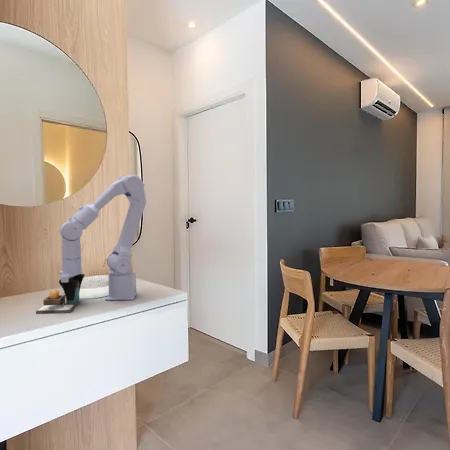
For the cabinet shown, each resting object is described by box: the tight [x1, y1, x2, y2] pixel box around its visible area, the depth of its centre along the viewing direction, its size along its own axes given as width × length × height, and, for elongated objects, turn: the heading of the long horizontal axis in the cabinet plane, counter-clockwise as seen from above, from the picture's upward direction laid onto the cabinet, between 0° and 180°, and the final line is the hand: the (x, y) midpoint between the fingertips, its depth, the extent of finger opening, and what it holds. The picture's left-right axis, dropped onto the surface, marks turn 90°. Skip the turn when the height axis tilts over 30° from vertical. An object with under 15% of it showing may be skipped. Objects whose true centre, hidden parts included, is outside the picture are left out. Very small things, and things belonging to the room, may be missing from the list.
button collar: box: [42, 294, 66, 306], centre depth 108 cm, size 5×5×2 cm
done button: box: [49, 290, 60, 299], centre depth 108 cm, size 3×3×3 cm
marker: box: [65, 281, 80, 306], centre depth 108 cm, size 4×4×7 cm
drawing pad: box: [35, 304, 77, 315], centre depth 103 cm, size 10×5×1 cm, turn 97°
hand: (72, 298), depth 109 cm, fingers closed on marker, 4 cm apart
